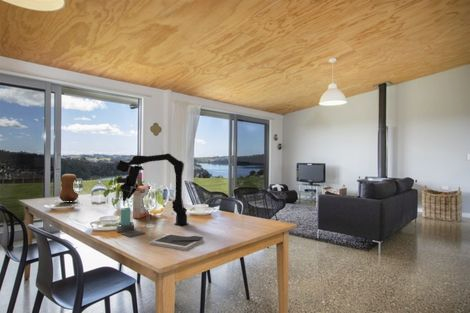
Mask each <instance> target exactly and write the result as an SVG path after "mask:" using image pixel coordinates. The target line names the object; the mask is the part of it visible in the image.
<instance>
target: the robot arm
mask: <svg viewBox="0 0 470 313" xmlns="http://www.w3.org/2000/svg"><path fill="white" fill-rule="evenodd" d="M157 161H168V163H170V164H171V165H172V166H173V170H174V174H175V194H174V196H175V197H174V199H173V200H172V201H171V203H172V207H171V208H172V210H173V212H174V213H175V214H176V215H175V222H174V225H175V226H178V227H179V226H180V227H183V226H186V225H189V222H188V214H187V212H188V210H187V209H186V207H185V205H184V199H183V194H182V193H183V172H184V169H185V162H183V161H182V160H178V159H177V158H176V157H174V156H173V155H172V153H165V154H156V155H155V154H154V155H134V156H132V159H131V160H129V161H125V160H122V159H121V160H119V162H118V163H117V165H116V169H115V171H117V172H120V173H124V174H127V173H128V175H126V177H123V176H118V177H117V178H116V180H115V182H116V184H121V185H120V187H119V189H120V191H121V192H122V201H123V202H125V201H126V200H127V199H130V198H131V197H132V196H133V193H134V192H135V191H136V190H137V188H138V187H139V186H140V184H139V183H137V181H138V180H139V175H140V171H144V167H143V164H146V163H151V162H157ZM133 165H134V166H133ZM135 187H136V188H135Z"/></svg>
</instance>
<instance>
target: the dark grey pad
mask: <svg viewBox="0 0 470 313" xmlns="http://www.w3.org/2000/svg"><path fill="white" fill-rule="evenodd" d="M120 235H122V236H125V237H127V238H133V237H137V236H142V235H146V232H145V231H141V230H138V229H134V230H132V231H124V232H120Z"/></svg>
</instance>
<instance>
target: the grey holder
mask: <svg viewBox="0 0 470 313" xmlns="http://www.w3.org/2000/svg"><path fill="white" fill-rule="evenodd" d="M119 225H120V222H116V232H117V233H124V232H128V231H132V230H135V224H134V222H133V221H130V225H126V226H119ZM123 231H124V232H123Z"/></svg>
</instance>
